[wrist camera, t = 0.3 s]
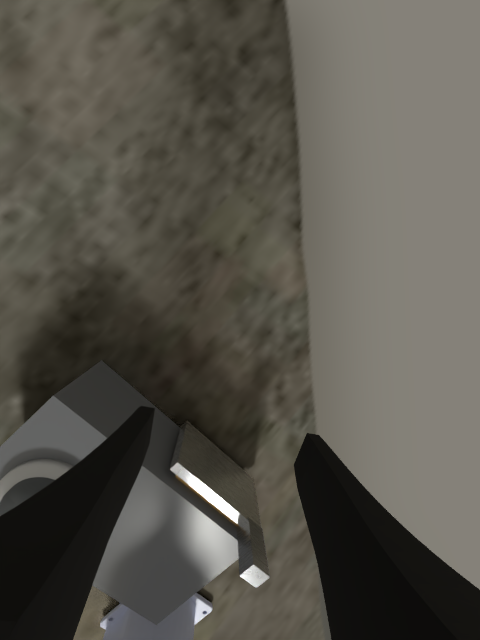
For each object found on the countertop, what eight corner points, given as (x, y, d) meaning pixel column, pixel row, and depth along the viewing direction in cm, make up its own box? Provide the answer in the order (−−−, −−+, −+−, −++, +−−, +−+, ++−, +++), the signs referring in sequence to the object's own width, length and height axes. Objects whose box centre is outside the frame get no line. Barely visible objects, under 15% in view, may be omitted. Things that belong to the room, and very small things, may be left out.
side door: (246, 485, 23) (258, 589, 16) (179, 427, 21) (156, 513, 14) (255, 477, 23) (271, 578, 15) (188, 419, 21) (170, 500, 14)
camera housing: (171, 541, 25) (152, 644, 18) (24, 434, 21) (-70, 511, 14) (244, 479, 24) (254, 563, 17) (103, 357, 20) (44, 400, 14)
